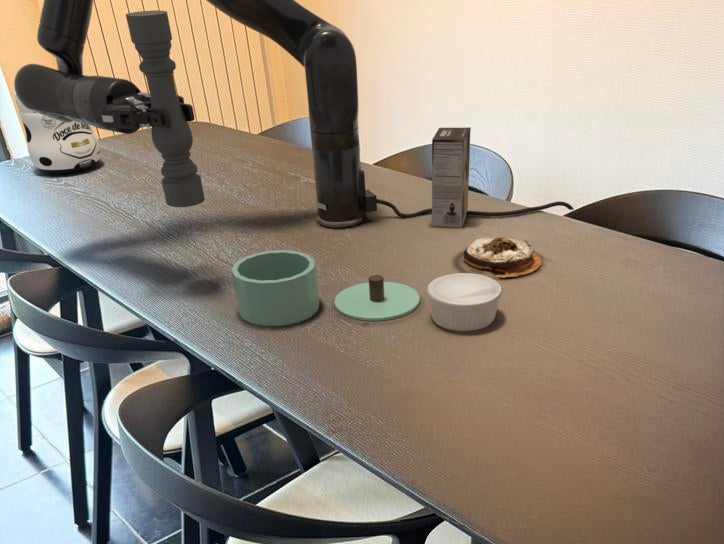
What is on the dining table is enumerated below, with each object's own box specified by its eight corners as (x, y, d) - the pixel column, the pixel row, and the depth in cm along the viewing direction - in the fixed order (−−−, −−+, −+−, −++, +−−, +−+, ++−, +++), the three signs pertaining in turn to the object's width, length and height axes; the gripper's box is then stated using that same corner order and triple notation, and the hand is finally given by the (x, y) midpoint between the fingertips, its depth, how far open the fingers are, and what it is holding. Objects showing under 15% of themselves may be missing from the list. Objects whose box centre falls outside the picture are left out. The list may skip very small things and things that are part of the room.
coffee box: (437, 211, 148) (438, 126, 137) (468, 212, 147) (471, 126, 136) (430, 227, 141) (431, 138, 131) (462, 228, 140) (466, 139, 130)
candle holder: (212, 196, 116) (177, 10, 99) (191, 208, 111) (152, 16, 95) (179, 193, 118) (140, 10, 101) (158, 205, 113) (114, 16, 97)
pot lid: (400, 282, 121) (399, 255, 118) (433, 313, 112) (434, 285, 109) (323, 297, 118) (321, 270, 115) (351, 331, 108) (349, 303, 105)
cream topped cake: (443, 271, 124) (443, 247, 121) (474, 242, 134) (475, 219, 131) (524, 283, 119) (526, 259, 116) (550, 252, 129) (553, 229, 126)
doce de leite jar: (92, 177, 178) (68, 95, 166) (24, 179, 178) (-4, 98, 166) (113, 158, 191) (92, 81, 179) (50, 160, 191) (25, 83, 180)
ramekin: (479, 343, 104) (481, 309, 100) (413, 327, 108) (413, 294, 105) (511, 313, 111) (514, 280, 107) (448, 299, 115) (449, 267, 112)
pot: (306, 289, 121) (301, 245, 116) (329, 319, 112) (325, 272, 107) (232, 303, 117) (224, 258, 112) (250, 335, 108) (242, 288, 103)
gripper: (62, 85, 106) (134, 97, 98) (138, 69, 115) (211, 78, 107) (78, 140, 111) (148, 155, 103) (150, 120, 120) (220, 133, 112)
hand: (179, 116), depth 105 cm, fingers closed on candle holder, 4 cm apart
